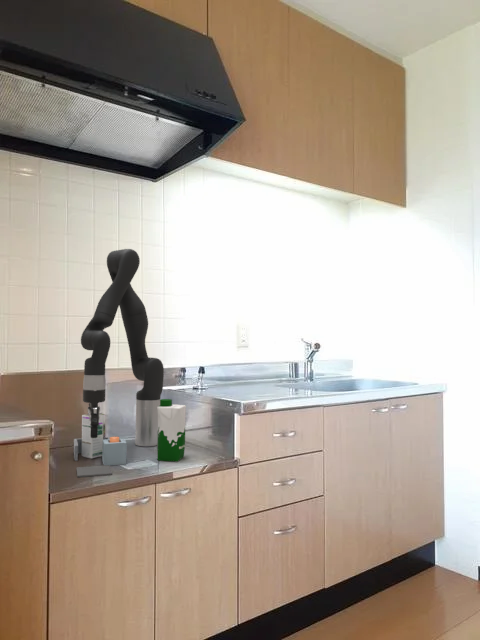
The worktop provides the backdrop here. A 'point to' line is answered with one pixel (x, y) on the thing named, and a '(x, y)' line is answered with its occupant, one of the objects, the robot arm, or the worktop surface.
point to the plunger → (114, 439)
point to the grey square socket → (114, 452)
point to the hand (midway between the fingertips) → (93, 435)
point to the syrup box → (92, 445)
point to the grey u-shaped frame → (79, 447)
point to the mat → (93, 471)
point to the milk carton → (171, 431)
